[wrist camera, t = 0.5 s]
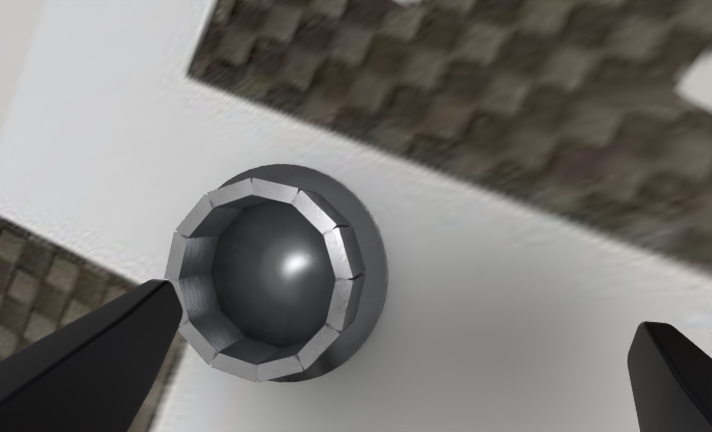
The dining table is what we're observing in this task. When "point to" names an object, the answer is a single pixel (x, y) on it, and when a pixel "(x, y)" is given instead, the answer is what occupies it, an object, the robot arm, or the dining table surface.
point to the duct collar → (278, 274)
